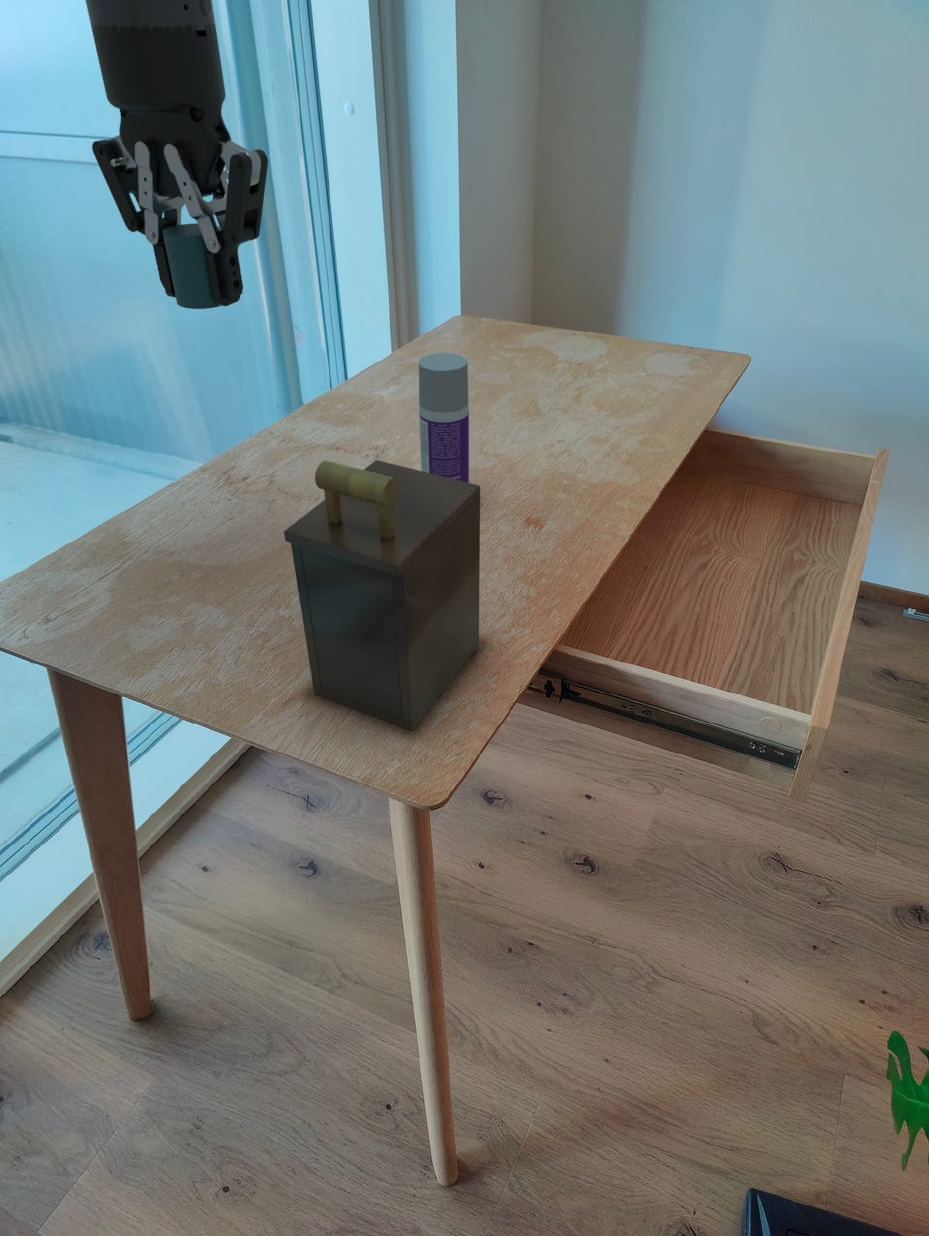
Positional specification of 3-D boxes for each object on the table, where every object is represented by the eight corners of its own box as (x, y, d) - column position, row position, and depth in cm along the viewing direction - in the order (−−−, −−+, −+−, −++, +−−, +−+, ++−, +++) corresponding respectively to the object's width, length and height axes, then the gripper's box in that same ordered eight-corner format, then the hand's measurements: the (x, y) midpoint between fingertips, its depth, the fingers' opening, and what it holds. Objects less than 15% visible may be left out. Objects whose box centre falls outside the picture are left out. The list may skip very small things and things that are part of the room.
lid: (398, 576, 51) (393, 504, 48) (285, 541, 54) (273, 472, 51) (480, 495, 59) (480, 429, 56) (376, 469, 62) (371, 405, 59)
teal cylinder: (187, 312, 61) (172, 238, 58) (169, 298, 63) (154, 227, 60) (239, 303, 62) (228, 231, 59) (220, 290, 65) (208, 220, 62)
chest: (412, 731, 60) (402, 572, 51) (313, 693, 63) (289, 537, 54) (479, 647, 67) (480, 496, 59) (388, 617, 70) (376, 469, 62)
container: (477, 501, 86) (478, 358, 76) (452, 522, 82) (450, 374, 73) (439, 490, 88) (436, 348, 78) (413, 509, 84) (407, 364, 75)
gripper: (23, 17, 52) (96, 299, 62) (201, 21, 47) (248, 327, 57) (113, 14, 57) (166, 275, 68) (281, 17, 52) (311, 298, 63)
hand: (204, 297), depth 63 cm, fingers closed on teal cylinder, 4 cm apart
